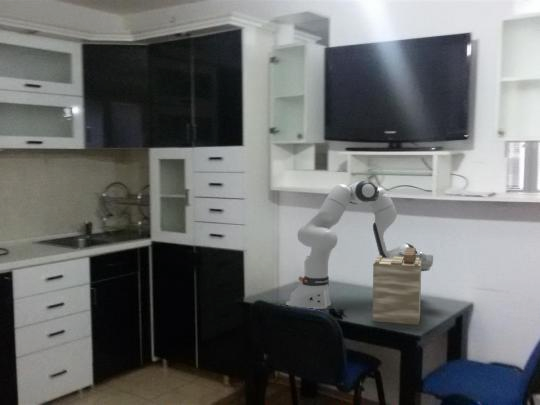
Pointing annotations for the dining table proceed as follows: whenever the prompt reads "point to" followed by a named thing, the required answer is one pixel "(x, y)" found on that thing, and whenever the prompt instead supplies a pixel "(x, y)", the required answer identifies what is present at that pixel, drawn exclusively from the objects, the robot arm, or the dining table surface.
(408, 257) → the rail bar
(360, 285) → the dining table surface
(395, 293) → the slotted stand
